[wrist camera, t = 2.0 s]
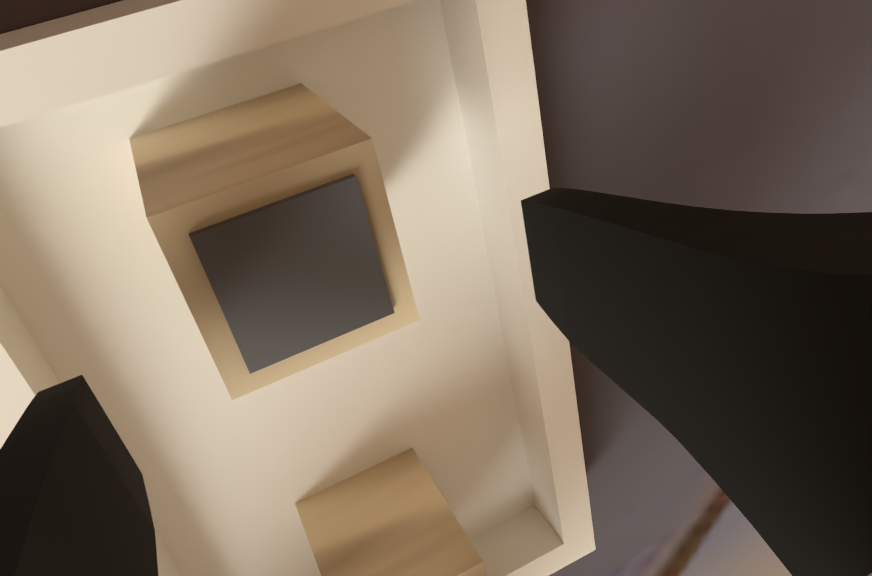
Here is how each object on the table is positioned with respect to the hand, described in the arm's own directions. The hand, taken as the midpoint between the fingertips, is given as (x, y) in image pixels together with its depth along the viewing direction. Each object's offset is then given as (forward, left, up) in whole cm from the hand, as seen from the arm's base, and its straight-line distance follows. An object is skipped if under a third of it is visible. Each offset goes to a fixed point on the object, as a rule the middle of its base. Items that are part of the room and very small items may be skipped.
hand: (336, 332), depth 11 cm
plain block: (-12, 0, -7) cm, 14 cm away
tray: (-6, 0, -8) cm, 10 cm away
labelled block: (0, 0, -7) cm, 7 cm away
